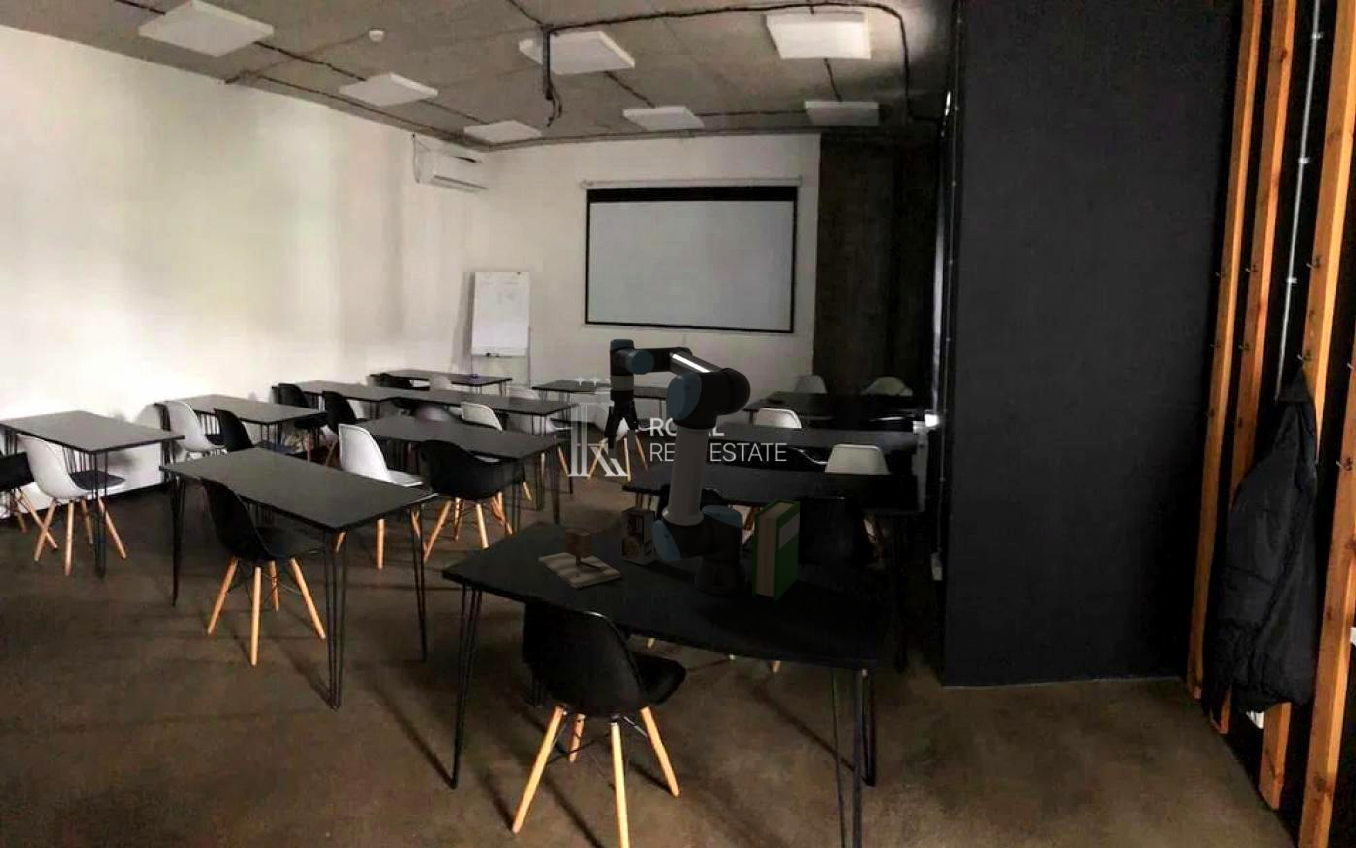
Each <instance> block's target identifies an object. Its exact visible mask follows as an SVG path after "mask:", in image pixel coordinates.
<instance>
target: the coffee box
mask: <svg viewBox="0 0 1356 848" xmlns="http://www.w3.org/2000/svg"><path fill="white" fill-rule="evenodd" d="M620 513H621V560H622V561H627V562H631V563H635V564H638V565H641V566H642V565H643V566H646V565H648V564H649V563H651V562H653V561H656V548H655V546H654V543H653V539H652V525H653V523H654V522H655V521H656V510H653V509H647V508H643V507H638V506H630V507H628V508H626V509H624V510H622V511H620Z"/></svg>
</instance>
